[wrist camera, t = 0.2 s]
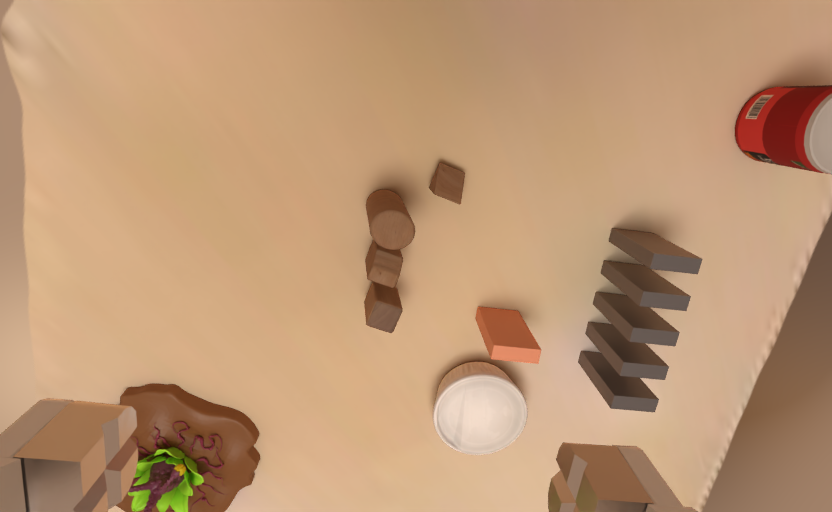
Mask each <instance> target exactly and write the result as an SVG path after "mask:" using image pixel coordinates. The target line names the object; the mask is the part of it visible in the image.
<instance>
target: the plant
mask: <svg viewBox="0 0 832 512" xmlns="http://www.w3.org/2000/svg"><path fill="white" fill-rule="evenodd" d="M120 405H123V406H132V407H133V408H134V409H135V410H136V417H137V428H136V429H135V430H134V432H133V433H132V434H131V436H130V438H131V439H132V441H133V442H134V443H135V444H136V446H137V447H138V462H137V469H136V473H135V476H134V479H133V482H132V484H131V487H130V489H129V491H128V492H127V494H126V496H125V497H124V499H123V500H122V502H120V503H118V504H117V505H116V506H118V507H119V508H121V509H122V510H124V511H125V512H224V511H225V510H226V509H227V508H228V507H229V506H230V504H231V502H232V501H233V499H234V497H235V496H236V494H237V492H238V491H239V490H240V489H242V488H243V487H245V486H248V485H251V484H252V481H253V478H254V475H255V474H254V470H255V469H256V468H257V465H258V462H259V460H260V454H259V453H258V451H257V450H256V449H255V448H254V446H253V445H254V444H255V443H256V441H257V439H258V436H259V431H258V429H257V428H256V426H255V424H254V423H253V422H252V421H251V420H250V419H249V418H248V417H247V416H246V415H245V414H243V413H242V412H240V411H238V410H235V409H232V408H229V407H225V406H221V405H217V404H213V403H210V402H208V401H205V400H203V399H201V398H198V397H196V396H194V395H192V394H189V393H187V392H186V391H184V390H183V389H182V388H180V387H179V386H177V385H175V384H170V385H164V384H148V385H145V386H141V387H129V388H128V389H127V390H126V391H125V392H124V393H123V394H122V396H121V398H120Z"/></svg>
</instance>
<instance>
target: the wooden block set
mask: <svg viewBox="0 0 832 512" xmlns="http://www.w3.org/2000/svg"><path fill="white" fill-rule="evenodd" d="M464 177H465V173H464V172H462V171H459V170H457V169H454V168H452V167H450V166H447V165H445V164H442V163H439V165H438V168H437V170H436V172H435V175H434V177H433V179H432V182H431V184H430V186H429V188H430V190H431V191H432V192H433V193H434V194H435V195H437V196H440V197H442V198H445V199H447V200H450V201H452V202H455V203H457V204H461V198H462V191H463V184H464ZM366 209H367V215H368V221H369V227H370V233H371V236H372V238H373V242H372V244H371V247H370V249H369V252H368V254H367V257H366V259H365V262H366V271H367V279H368V280H371V281H373V282H372V284H371V287H370V289H369V291H368V294H367V296H366V299H365V301H364V304H365V315H366V325H368V326H370V327H373V328H376V329H379V330H383V331H386V332H389V333H392V332H393V331H394V329H395V327H396V324H397V322H398V320H399V318H400V315H401V313H402V305H401V301H400V298H399V294H398V290H397V288H395V285H396V283H397V281H398V278H399V275H400V271H401V267H402V262H403V257H402V254H401V251H400V249H401V248H404V247H406V246H407V245H408V244H410V243H411V241H412V240H413V238H414V235H415V226H414V224H413V222H412V219H411V217H410V215H409V213H408V211H407V209H406V207H405V205H404V203H403V201H402V199H401V198H400V197H399V196H398V195H397V194H396V193H394V192H392V191H389V190H378V191H375V192H373V193H372V194H371V195H370V196H369V197H368V199H367V202H366Z"/></svg>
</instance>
